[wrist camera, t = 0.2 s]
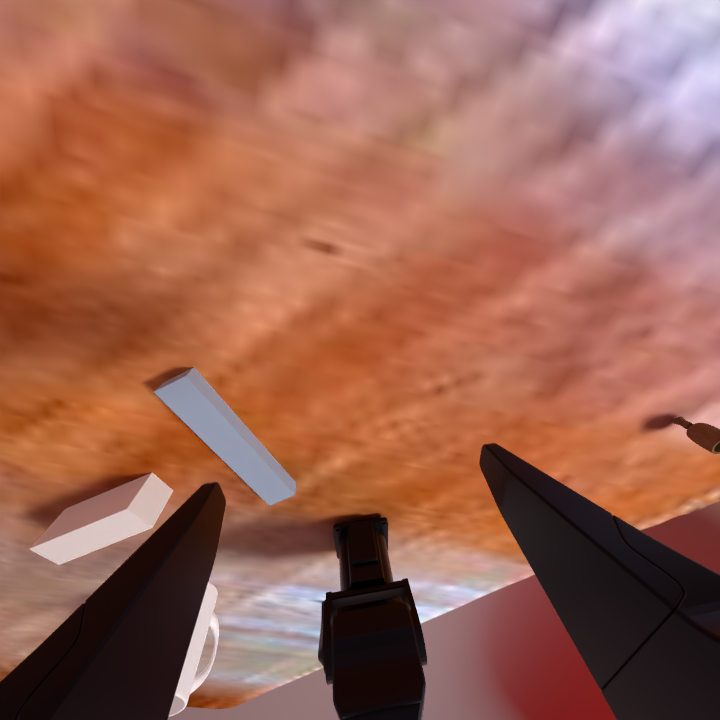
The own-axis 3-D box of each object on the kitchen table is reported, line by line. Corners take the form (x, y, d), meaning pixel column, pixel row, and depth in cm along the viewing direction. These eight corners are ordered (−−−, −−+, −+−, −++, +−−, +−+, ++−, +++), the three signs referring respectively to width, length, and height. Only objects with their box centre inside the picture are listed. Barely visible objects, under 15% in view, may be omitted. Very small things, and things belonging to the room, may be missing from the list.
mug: (204, 614, 41) (168, 732, 32) (136, 583, 36) (68, 714, 26) (250, 593, 40) (227, 708, 30) (187, 557, 35) (135, 684, 25)
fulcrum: (128, 430, 25) (87, 473, 21) (209, 503, 31) (190, 550, 26) (31, 472, 26) (-29, 523, 22) (126, 536, 32) (94, 587, 27)
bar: (297, 471, 31) (294, 494, 28) (274, 481, 31) (269, 505, 28) (201, 358, 24) (185, 375, 21) (172, 373, 24) (153, 391, 21)
